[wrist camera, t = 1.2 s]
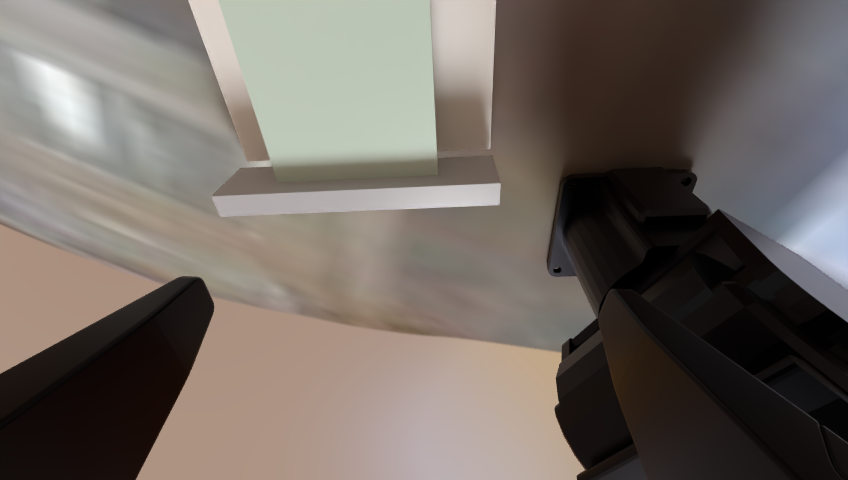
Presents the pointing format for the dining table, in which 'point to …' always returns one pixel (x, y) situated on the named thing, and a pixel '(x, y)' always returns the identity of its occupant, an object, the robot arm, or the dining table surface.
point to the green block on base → (345, 111)
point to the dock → (453, 73)
